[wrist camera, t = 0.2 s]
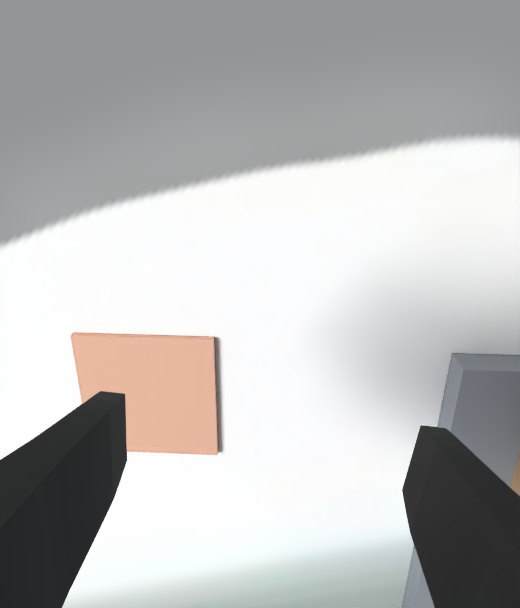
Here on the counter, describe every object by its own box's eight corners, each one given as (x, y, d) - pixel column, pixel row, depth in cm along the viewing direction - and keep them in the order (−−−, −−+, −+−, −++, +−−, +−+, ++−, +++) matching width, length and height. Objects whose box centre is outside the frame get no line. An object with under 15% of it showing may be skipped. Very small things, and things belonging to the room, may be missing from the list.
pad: (217, 451, 25) (217, 454, 25) (92, 446, 25) (90, 449, 25) (214, 337, 22) (213, 339, 22) (73, 332, 22) (70, 335, 22)
